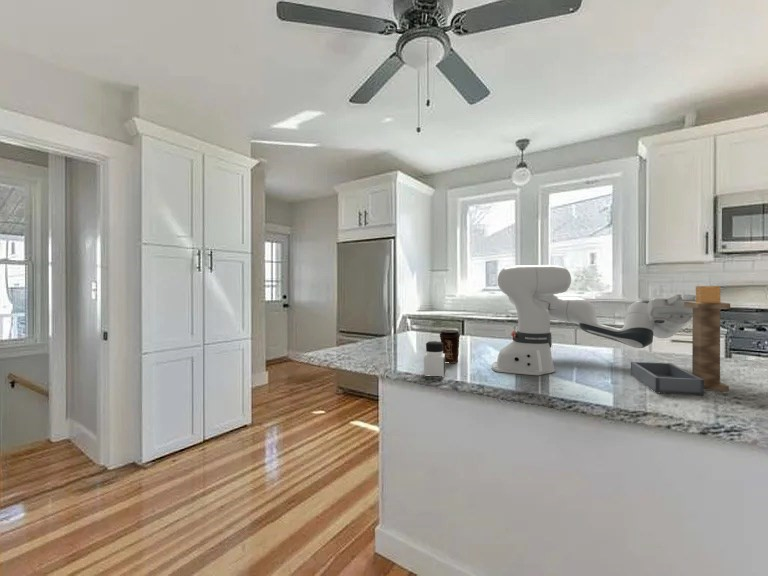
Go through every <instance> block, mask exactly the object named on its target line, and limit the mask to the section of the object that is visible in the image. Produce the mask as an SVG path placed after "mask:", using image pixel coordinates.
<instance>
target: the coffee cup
mask: <svg viewBox="0 0 768 576" xmlns="http://www.w3.org/2000/svg"><path fill="white" fill-rule="evenodd" d="M460 334H461V333H459V330H456V329H446V330H445V329H442V330H441V331H440V333H439V339H440V342H442V343H443V353H444V354H445V362H449V363H455V364H457V363H458V362H459V355H460V354H459V350H460V337H461V335H460ZM456 362H457V363H456Z"/></svg>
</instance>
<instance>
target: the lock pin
mask: <svg viewBox="0 0 768 576" xmlns="http://www.w3.org/2000/svg"><path fill="white" fill-rule="evenodd" d="M683 298H684V300H687V301H695V302H697V303H720V302H721V285H711V286H710V285H704V286H702V285H697V286H695V294H693V293H684V294H683Z"/></svg>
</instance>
